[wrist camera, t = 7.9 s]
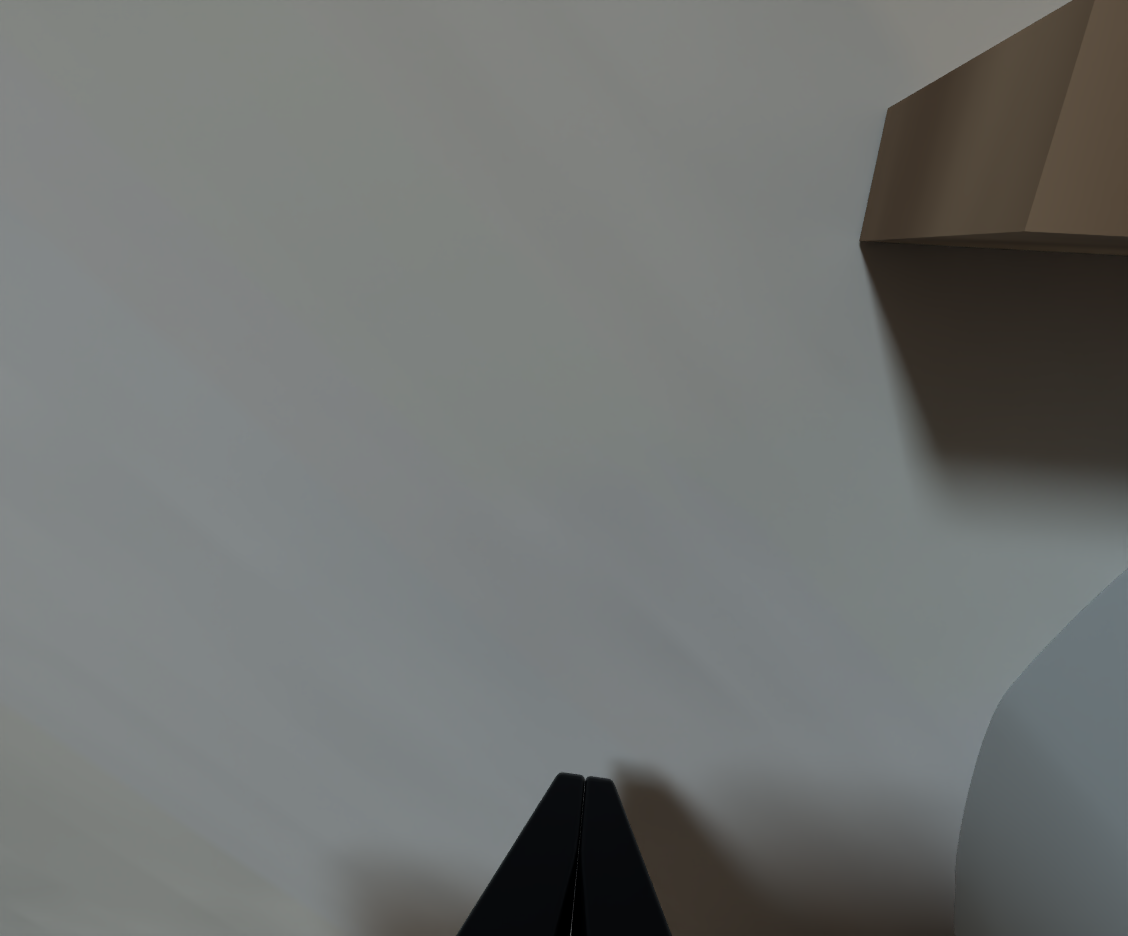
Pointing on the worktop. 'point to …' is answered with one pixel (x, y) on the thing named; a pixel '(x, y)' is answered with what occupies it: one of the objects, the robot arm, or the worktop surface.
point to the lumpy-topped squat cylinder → (1054, 791)
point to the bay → (1015, 144)
